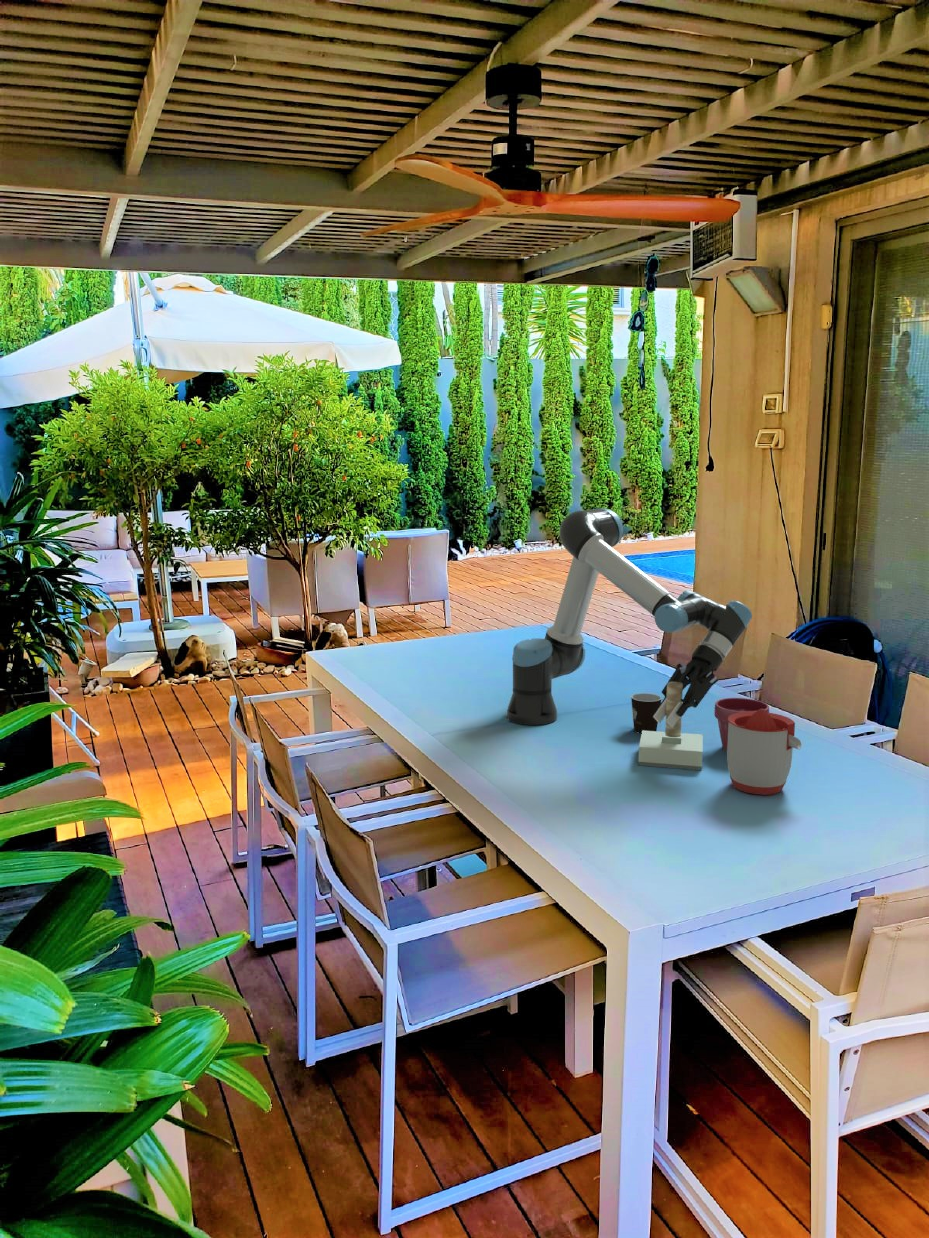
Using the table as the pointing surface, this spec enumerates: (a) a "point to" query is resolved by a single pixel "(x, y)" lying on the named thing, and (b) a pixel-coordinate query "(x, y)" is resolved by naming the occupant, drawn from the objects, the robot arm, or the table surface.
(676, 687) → the dowel
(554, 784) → the table surface
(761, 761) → the citrus juicer
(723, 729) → the plant pot
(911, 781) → the table surface
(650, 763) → the socket block
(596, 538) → the robot arm
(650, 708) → the coffee mug
